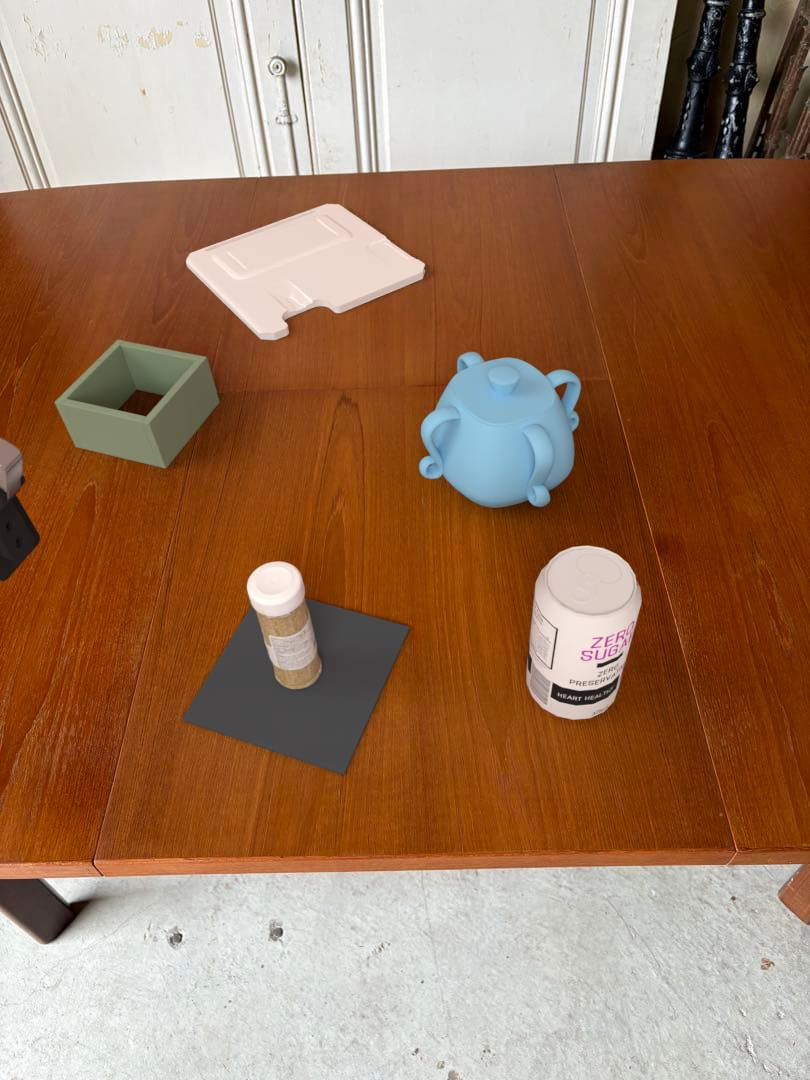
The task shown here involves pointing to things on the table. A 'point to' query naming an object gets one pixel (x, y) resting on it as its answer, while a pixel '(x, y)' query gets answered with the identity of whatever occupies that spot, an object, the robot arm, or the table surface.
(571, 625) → the supplement can
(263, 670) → the mat
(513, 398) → the decorative pot
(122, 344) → the crate
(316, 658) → the sprinkles bottle
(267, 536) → the table surface
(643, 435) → the table surface
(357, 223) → the tray
